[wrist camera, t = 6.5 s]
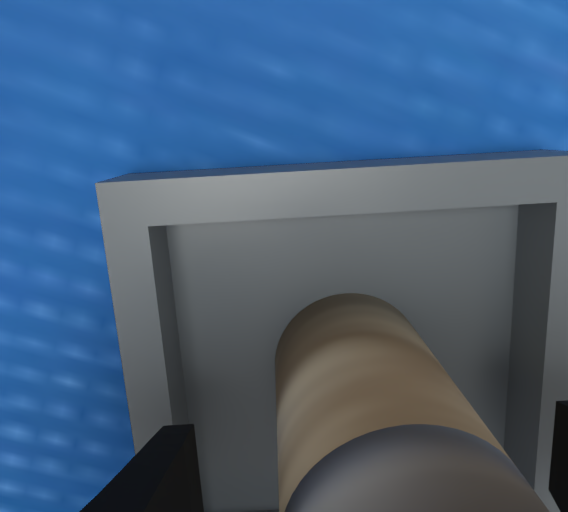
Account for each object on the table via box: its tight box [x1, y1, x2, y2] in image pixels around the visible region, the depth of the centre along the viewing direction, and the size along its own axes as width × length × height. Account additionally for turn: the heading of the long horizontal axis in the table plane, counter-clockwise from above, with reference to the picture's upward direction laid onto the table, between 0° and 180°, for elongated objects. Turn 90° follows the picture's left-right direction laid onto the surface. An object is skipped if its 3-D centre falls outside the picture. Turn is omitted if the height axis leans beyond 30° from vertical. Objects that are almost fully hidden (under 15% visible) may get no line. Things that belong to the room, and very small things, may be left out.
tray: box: [95, 150, 568, 512], centre depth 13 cm, size 11×11×2 cm
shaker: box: [275, 293, 550, 512], centre depth 10 cm, size 4×4×7 cm
